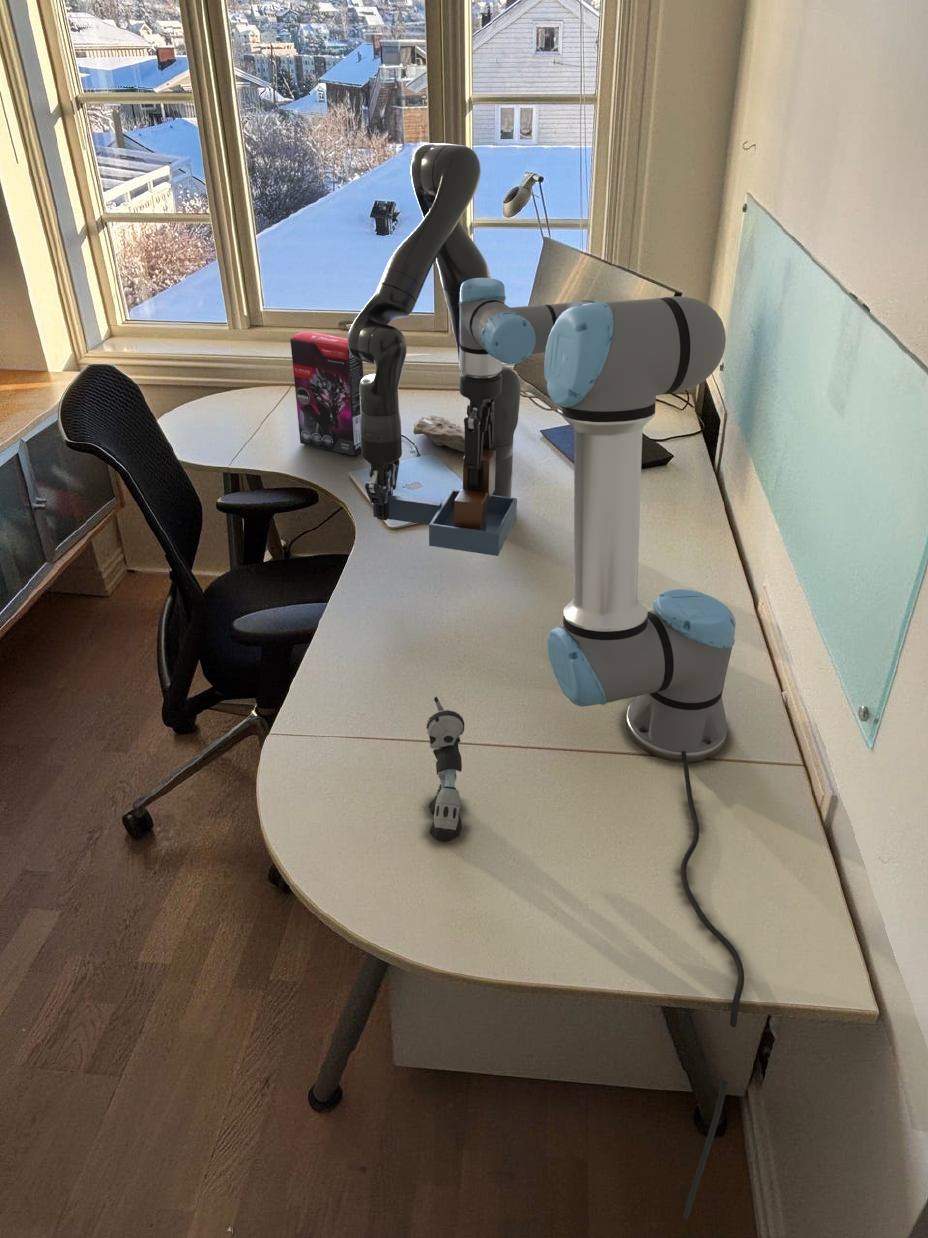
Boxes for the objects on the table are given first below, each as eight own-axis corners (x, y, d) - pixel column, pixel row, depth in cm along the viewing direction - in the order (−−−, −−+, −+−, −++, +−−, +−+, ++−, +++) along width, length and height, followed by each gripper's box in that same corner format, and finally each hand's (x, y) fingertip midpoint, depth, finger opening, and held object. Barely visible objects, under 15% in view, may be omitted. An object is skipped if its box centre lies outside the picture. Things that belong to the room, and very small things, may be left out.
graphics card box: (297, 444, 233) (287, 336, 218) (313, 435, 239) (304, 329, 223) (354, 457, 227) (347, 347, 212) (369, 447, 232) (364, 339, 217)
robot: (467, 874, 119) (468, 759, 108) (429, 876, 119) (427, 760, 108) (460, 769, 135) (460, 659, 124) (426, 770, 135) (424, 660, 124)
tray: (498, 556, 168) (499, 532, 166) (361, 535, 174) (359, 512, 171) (516, 518, 181) (517, 495, 178) (387, 500, 186) (386, 478, 183)
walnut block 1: (488, 501, 172) (489, 461, 167) (462, 497, 173) (462, 458, 169) (494, 489, 176) (495, 450, 171) (469, 486, 177) (470, 447, 173)
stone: (397, 439, 228) (402, 416, 226) (416, 430, 242) (421, 408, 239) (477, 464, 225) (483, 440, 222) (491, 454, 238) (497, 431, 236)
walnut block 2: (479, 543, 170) (481, 504, 166) (453, 539, 171) (454, 500, 167) (486, 530, 174) (487, 492, 170) (460, 527, 175) (461, 488, 171)
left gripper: (387, 449, 163) (391, 535, 173) (411, 421, 174) (413, 503, 184) (348, 444, 165) (353, 530, 175) (374, 417, 176) (378, 499, 186)
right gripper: (489, 391, 153) (486, 516, 166) (513, 357, 168) (508, 475, 181) (445, 386, 155) (446, 510, 168) (473, 354, 169) (471, 470, 182)
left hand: (384, 516), depth 179 cm, fingers closed on tray, 1 cm apart
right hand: (478, 492), depth 174 cm, fingers closed on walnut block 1, 5 cm apart
